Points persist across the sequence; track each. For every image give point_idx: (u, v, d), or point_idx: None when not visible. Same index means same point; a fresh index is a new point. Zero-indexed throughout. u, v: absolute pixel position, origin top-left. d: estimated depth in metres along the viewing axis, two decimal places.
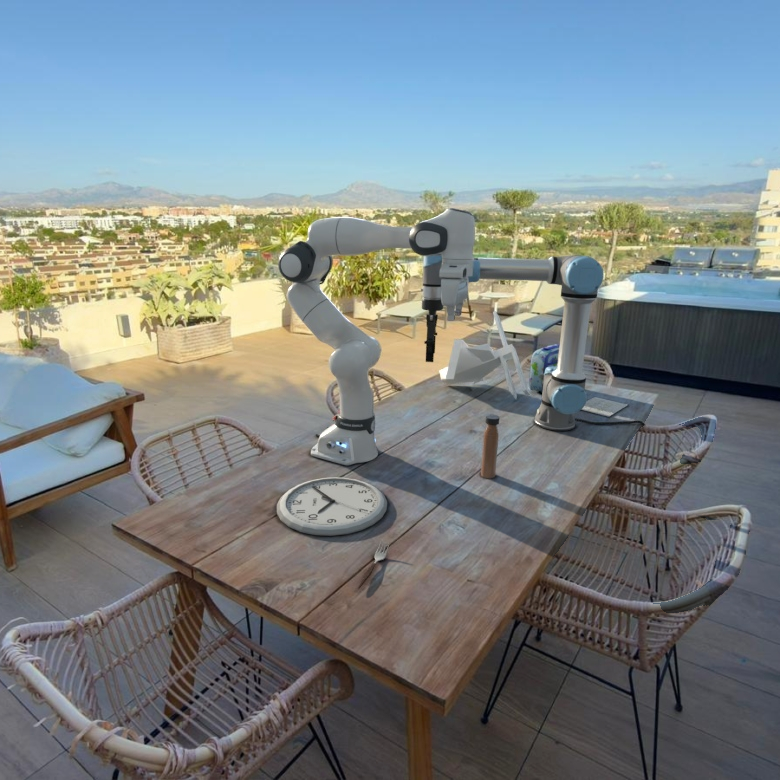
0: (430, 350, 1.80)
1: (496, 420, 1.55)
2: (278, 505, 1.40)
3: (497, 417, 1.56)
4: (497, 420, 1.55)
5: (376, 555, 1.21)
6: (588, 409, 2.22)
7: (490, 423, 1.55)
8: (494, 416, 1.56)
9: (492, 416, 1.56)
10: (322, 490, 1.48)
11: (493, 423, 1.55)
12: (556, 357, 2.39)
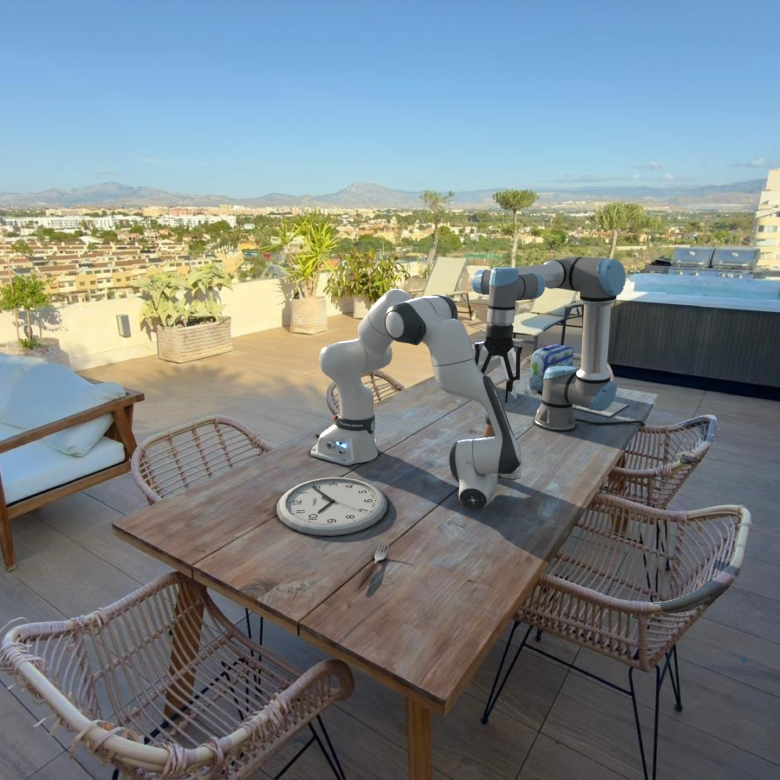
0: None
1: None
2: (278, 505, 1.40)
3: None
4: None
5: (376, 555, 1.21)
6: (588, 409, 2.22)
7: (490, 423, 1.55)
8: None
9: None
10: (322, 490, 1.48)
11: None
12: (556, 357, 2.39)
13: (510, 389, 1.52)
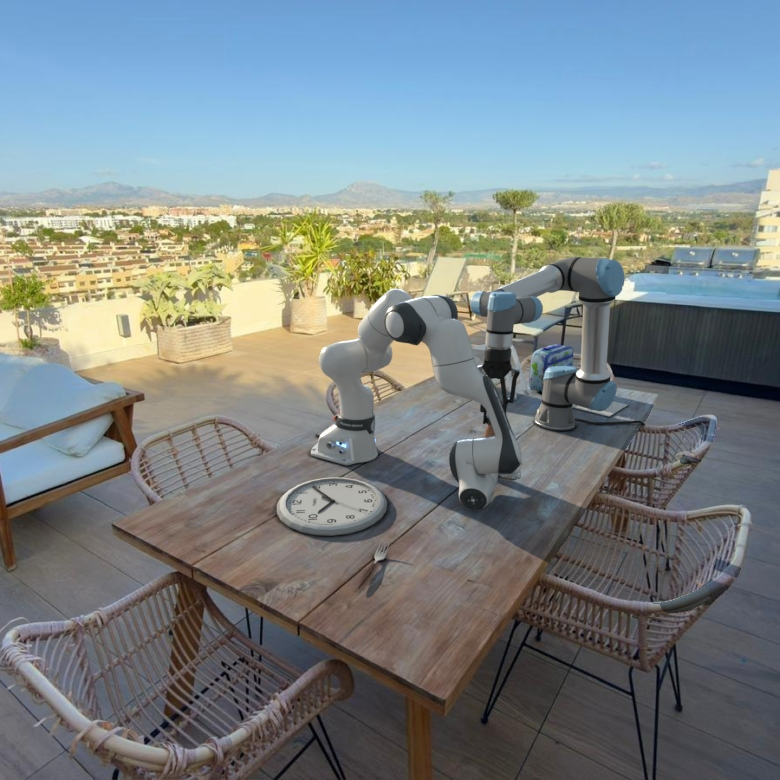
0: (480, 408, 1.56)
1: None
2: (278, 505, 1.40)
3: None
4: None
5: (376, 555, 1.21)
6: (588, 409, 2.22)
7: (490, 423, 1.55)
8: None
9: None
10: (322, 490, 1.48)
11: None
12: (556, 357, 2.39)
13: None
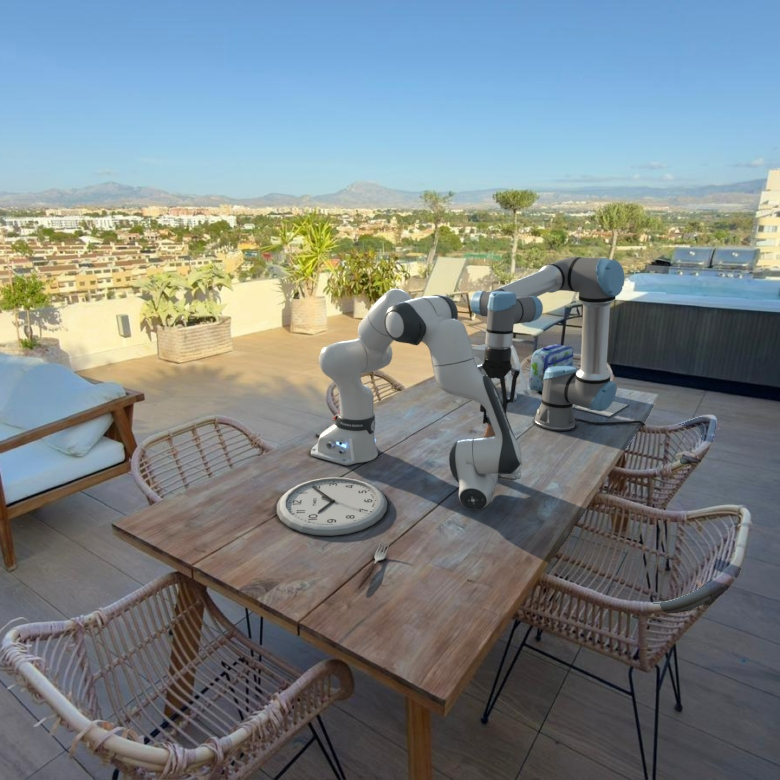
0: (480, 408, 1.56)
1: None
2: (278, 505, 1.40)
3: None
4: None
5: (376, 555, 1.21)
6: (588, 409, 2.22)
7: None
8: None
9: None
10: (322, 490, 1.48)
11: None
12: (556, 357, 2.39)
13: None
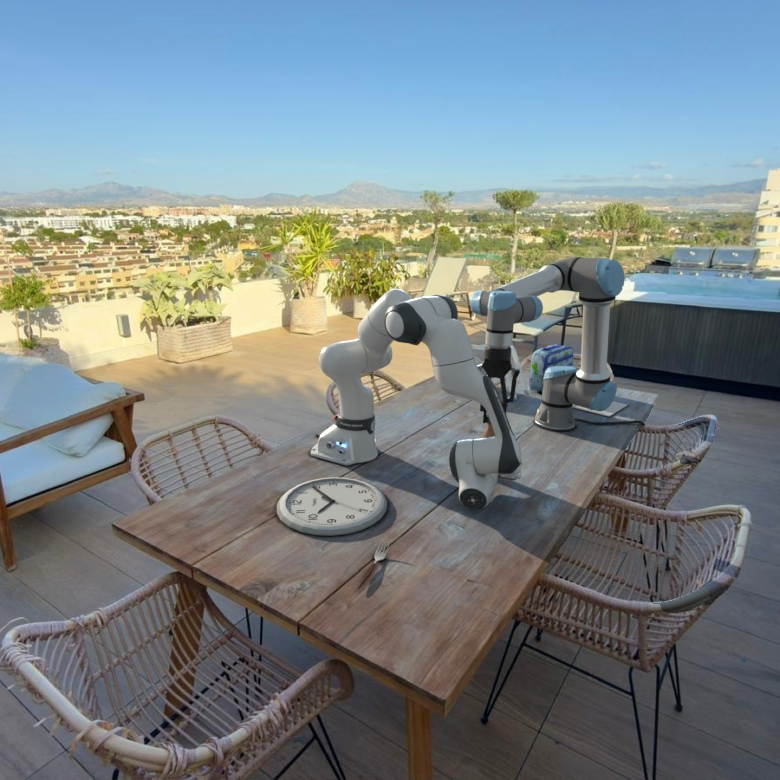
0: (480, 407, 1.56)
1: (486, 417, 1.56)
2: (278, 505, 1.40)
3: None
4: (486, 417, 1.56)
5: (376, 555, 1.21)
6: (588, 409, 2.22)
7: None
8: None
9: None
10: (322, 490, 1.48)
11: None
12: (556, 357, 2.39)
13: None
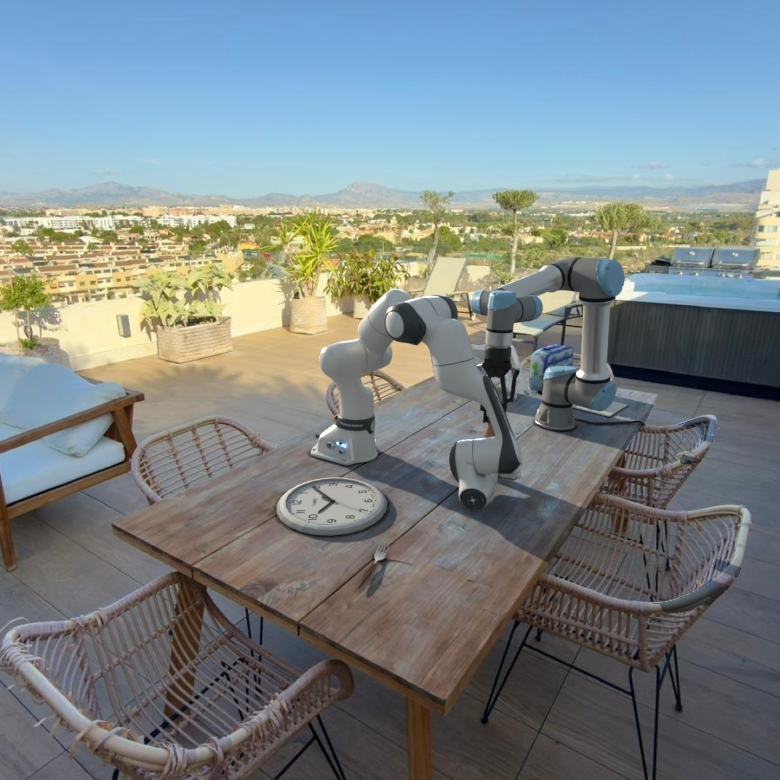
0: (480, 407, 1.56)
1: None
2: (278, 505, 1.40)
3: None
4: None
5: (376, 555, 1.21)
6: (588, 409, 2.22)
7: (490, 422, 1.55)
8: None
9: None
10: (322, 490, 1.48)
11: None
12: (556, 357, 2.39)
13: None
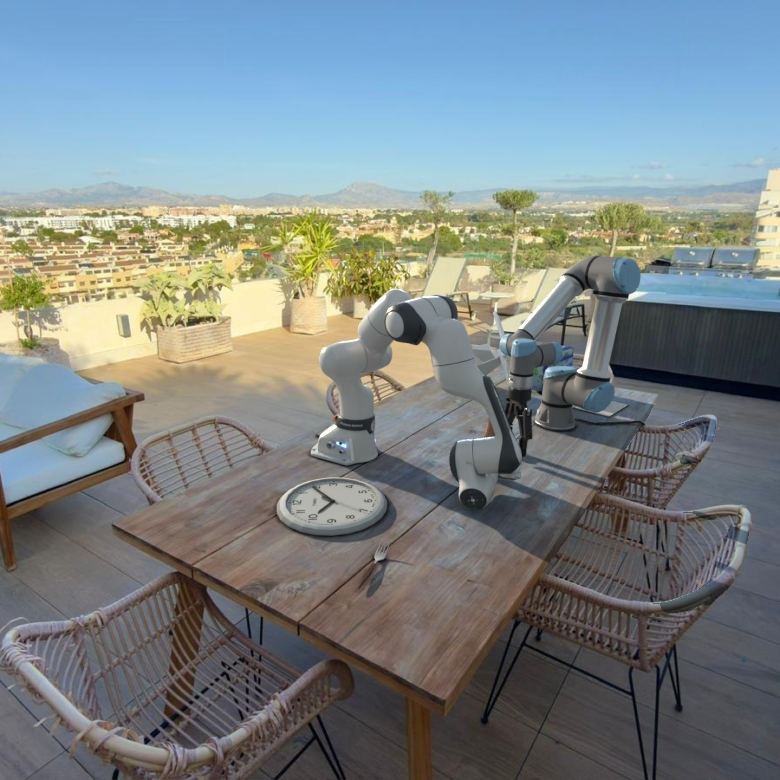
0: (525, 446, 1.69)
1: None
2: (278, 505, 1.40)
3: None
4: None
5: (376, 555, 1.21)
6: None
7: None
8: None
9: None
10: (322, 490, 1.48)
11: None
12: None
13: None
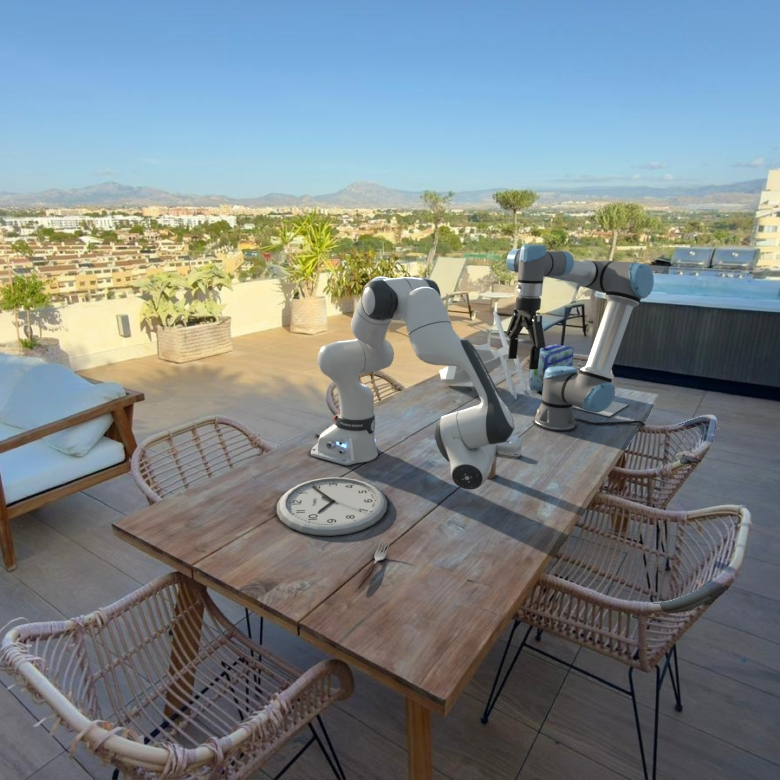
0: (538, 356, 1.58)
1: None
2: (278, 505, 1.40)
3: None
4: None
5: (376, 555, 1.21)
6: None
7: None
8: None
9: None
10: (322, 490, 1.48)
11: None
12: (556, 357, 2.39)
13: None
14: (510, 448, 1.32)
